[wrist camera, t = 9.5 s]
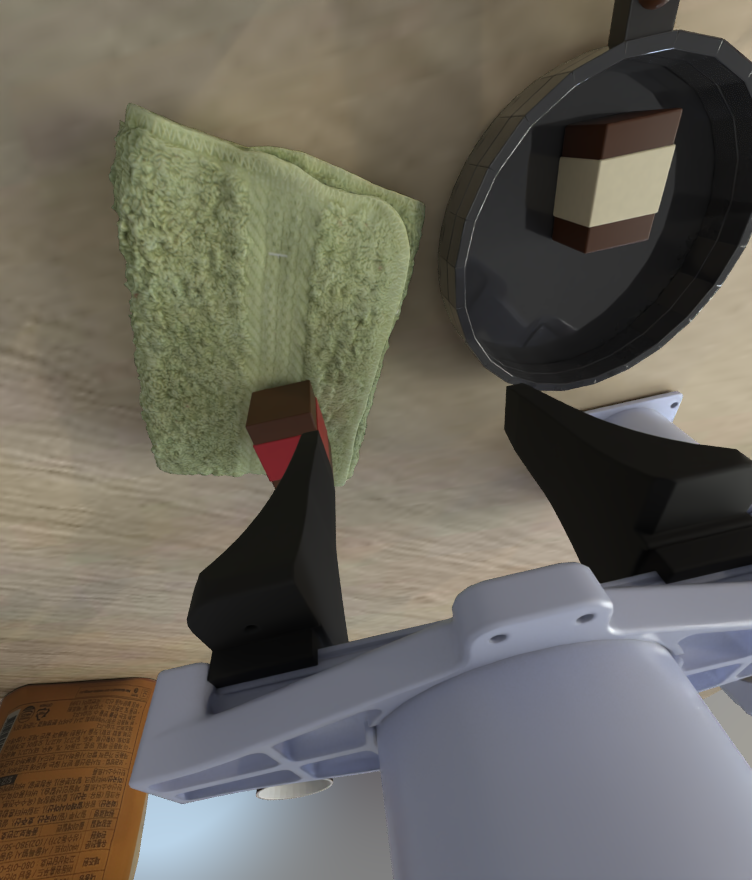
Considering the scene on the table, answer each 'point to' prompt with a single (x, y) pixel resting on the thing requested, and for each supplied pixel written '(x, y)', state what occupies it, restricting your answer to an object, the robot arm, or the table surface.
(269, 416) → the chocolate
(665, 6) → the pan handle
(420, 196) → the table surface
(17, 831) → the pancake mix bag
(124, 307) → the table surface
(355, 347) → the washcloth
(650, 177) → the chocolate
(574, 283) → the pan
